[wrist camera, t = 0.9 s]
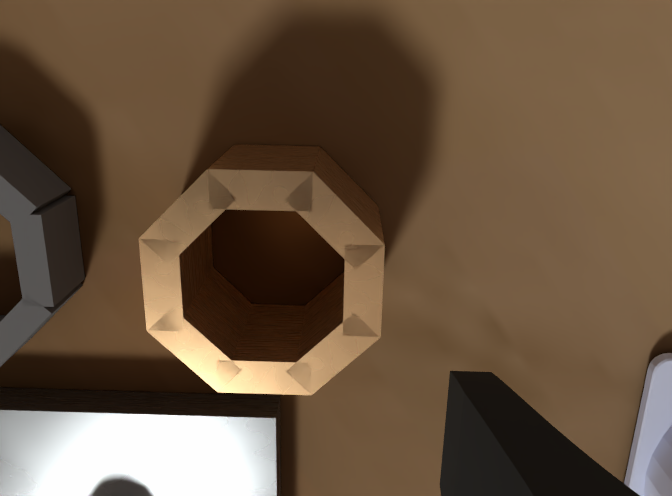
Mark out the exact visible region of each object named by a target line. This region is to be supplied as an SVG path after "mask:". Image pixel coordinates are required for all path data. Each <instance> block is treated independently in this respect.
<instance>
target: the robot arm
mask: <svg viewBox="0 0 672 496" xmlns="http://www.w3.org/2000/svg"><path fill="white" fill-rule="evenodd" d="M440 489H441V496H672V353H664V354H660V355H658V356H656V357H655V358H654V359H653V360H652V361H651V362H650V364H649V367H648V370H647V375H646V380H645V385H644V390H643V395H642V399H641V404H640V409H639V414H638V419H637V424H636V428H635V433H634V438H633V443H632V448H631V453H630V457H629V462H628V467H627V472H626V477H625V482H624V483H622V482H621V481H620V480H618V479H617V478H616V477H614V476H613V475H612V474H611V473H609V472H608V471H607V470H605V469H604V468H603V467H602V466H600V465H599V464H598V463H597V462H595V461H594V460H593V459H592V458H590V457H589V456H588V455H587V454H585V453H584V452H583V451H582V450H581V449H579V448H578V447H577V446H576V445H575V444H573V443H572V442H571V441H570V440H569V439H567V438H566V437H565V436H564V435H563V434H562V433H560V432H559V431H558V430H557V429H556V428H555V427H553V426H552V425H551V424H550V423H549V422H548V421H547V420H545V419H544V418H543V417H542V416H541V415H540V414H539V413H538V412H536V411H535V410H534V409H533V408H532V407H531V406H530V405H529V404H527V403H526V402H525V401H524V400H523V399H522V398H521V397H520V396H518V395H517V394H516V393H515V392H514V391H513V390H512V389H511V388H510V387H508V386H507V385H506V384H505V383H504V382H503V381H502V380H500V379H499V378H498V377H497V376H496V375H494V374H493V373H492V372H467V371H450V378H449V390H448V401H447V412H446V423H445V434H444V445H443V456H442V467H441V478H440Z"/></svg>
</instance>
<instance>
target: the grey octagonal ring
mask: <svg viewBox="0 0 672 496" xmlns="http://www.w3.org/2000/svg"><path fill="white" fill-rule="evenodd" d="M70 190H71V188H70V187H69V186H68V185H67V184H65V183H64V182H63V181H62V180H61V179H60V178H59V177H58V176H57V175H55V174H54V173H53V172H52V171H51V170H50V169H49V168H48V167H47V166H45V165H44V164H43V163H42V162H41V161H40V160H39V159H38V158H37V157H36V156H34V155H33V154H32V153H31V152H30V151H29V150H28V149H27V148H26V147H24V146H23V145H22V144H21V143H20V142H19V141H18V140H17V139H16V138H14V137H13V136H12V135H11V134H10V133H9V132H8V131H7V130H6V129H4V128H3V127H2V126H1V125H0V214H1V215H2V216H4V217H5V218H6V219H7V220H8V221H9V222H10V223H11V229H12V236H13V242H14V248H15V255H16V261H17V268H18V274H19V280H20V287H21V293H22V299H21V301H20V302H19V303H18V304H17V305H16V306H15V307H14V308H13V309H12V310H11V311H10V312H9V313H8V314H7V315H0V367H1V366H2V365H3V364H4V363H5V362H6V361H7V360H8V359H9V358H10V357H11V356H12V355H13V354H15V353H16V352H17V351H18V350H19V349H20V348H21V347H22V346H23V345H24V344H25V343H26V342H27V341H29V340H30V339H31V338H32V337H33V336H34V335H35V334H36V333H37V332H38V331H39V330H40V329H41V328H42V326H43V325H44V324H45V323H46V322H47V321H48V320H49V319H50V318H51V317H52V316H53V315H54V314H55V313H56V312H57V311H58V310H59V309H60V308H61V307H62V306H63V305H64V304H65V303H66V302H67V301H68V300H69V299H70V298H71V297H72V296H73V295H74V294H75V293H76V292H77V291H78V290H79V289H80V288H81V287H82V286H83V285H82V284H81V282H82V281H83V280H84V279H85V275H84V266H83V258H82V250H81V241H80V233H79V224H78V216H77V208H76V199H75V196H65V195H66V194H67V193H68V192H69V191H70Z"/></svg>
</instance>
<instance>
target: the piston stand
mask: <svg viewBox="0 0 672 496" xmlns="http://www.w3.org/2000/svg"><path fill="white" fill-rule="evenodd" d="M0 496H281V430H280V396H269V395H235V394H201V393H168V392H134V391H100V390H66V389H32V388H0Z"/></svg>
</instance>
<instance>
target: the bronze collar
mask: <svg viewBox="0 0 672 496" xmlns="http://www.w3.org/2000/svg"><path fill="white" fill-rule="evenodd" d="M225 209H230V210H270V211H296V212H297V213H298V214H299V215H300V216H301V217H302V218H303V219H304V220H305V221H307V222H308V223H309V224H310V225H311V226H312V227H313V228H314V229H315V230H316V231H317V232H318V233H319V234H320V235H321V236H322V237H323V238H324V239H325V240H326V241H327V242H328V243H329V244H330V245H331V246H332V247H333V248H334V249H335V250H336V251H337V252H338V253H339V254H340V255H341V256H342V257H343V258H344V259H345V268H344V272H343V273H342V274H340V275H339V276H338V277H337V278H336V279H335V280H334V281H333V282H331V283H330V284H329V285H328V286H327V287H326V288H325V289H324V290H322V291H321V292H320V293H319V294H318V295H317V296H316V297H315V298H313V299H312V300H311V301H310V302H309V303H308V304H307V305H279V304H252V303H251V302H250V301H249V300H248V299H247V298H246V297H245V296H244V295H243V294H241V293H240V292H239V291H238V290H237V289H236V288H235V287H234V286H233V285H232V284H231V283H230V282H229V281H227V280H226V279H225V278H224V277H223V276H222V275H221V274H220V273H219V272H218V271H217V270H216V269H214V268H213V248H212V227H211V223H212V222H213V221H214V220H215V219H216V218H217V217H218V216H219V215H220V214H221V213H222V212H223V211H224V210H225ZM139 248H140V260H141V271H142V283H143V294H144V306H145V317H146V329H147V331H148V332H149V333H150V334H151V335H152V336H153V337H154V338H156V339H157V340H158V341H159V342H160V343H161V344H162V345H164V346H165V347H166V348H167V349H168V350H169V351H171V352H172V353H173V354H174V355H175V356H176V357H177V358H179V359H180V360H181V361H182V362H183V363H184V364H186V365H187V366H188V367H189V368H190V369H191V370H192V371H194V372H195V373H196V374H197V375H198V376H199V377H201V378H202V379H203V380H204V381H205V382H206V383H207V384H209V385H210V386H211V387H212V388H213V389H214V390H216V391H217V392H220V393H254V394H288V395H312V394H313V393H315V392H316V391H317V390H318V389H319V388H321V387H322V386H323V385H324V384H325V383H326V382H328V381H329V380H330V379H331V378H332V377H334V376H335V375H336V374H337V373H338V372H340V371H341V370H342V369H343V368H344V367H346V366H347V365H348V364H349V363H350V362H352V361H353V360H354V359H355V358H356V357H358V356H359V355H360V354H361V353H362V352H364V351H365V350H366V349H367V348H368V347H370V346H371V345H372V344H373V343H374V342H376V341H377V340H378V339H379V338H380V337H381V317H382V296H383V275H384V254H385V243H384V237H383V231H382V225H381V219H380V213H379V208H378V206H377V205H376V204H375V202H374V201H373V200H372V199H371V198H370V197H369V196H368V195H367V194H366V193H365V192H364V191H363V190H362V189H361V188H360V187H359V186H358V185H357V184H356V183H355V182H354V181H353V180H352V179H351V178H350V177H349V176H348V174H347V173H346V172H345V171H344V170H343V169H342V168H341V167H340V166H339V165H338V164H337V163H336V162H335V161H334V160H333V159H332V158H331V157H330V156H329V155H328V154H327V153H326V152H325V151H324V150H323V149H322V148H321V147H320V146H287V145H244V144H235V145H233V146H232V147H231V148H230V149H229V150H228V151H227V152H226V153H225V154H223V155H222V156H221V157H220V158H219V159H218V160H217V161H216V162H214V163H213V164H212V165H211V166H210V167H209V168H208V169H207V170H206V171H205V172H204V173H203V174H202V175H201V176H200V177H199V178H198V179H197V180H196V181H195V182H194V183H193V184H192V185H191V186H190V187H189V188H188V189H187V190H186V191H185V192H184V193H183V194H182V195H181V196H180V197H179V198H178V199H177V200H176V201H175V202H174V203H173V204H172V205H171V206H170V207H169V208H168V209H167V210H166V211H165V212H164V213H163V214H162V215H161V216H160V217H159V218H158V219H157V220H156V221H155V223H154V224H153V225H152V226H151V227H150V228H149V229H148V230H147V231H146V232H145V233H144V234H143V235H142V236H141V237H140V238H139Z"/></svg>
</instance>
